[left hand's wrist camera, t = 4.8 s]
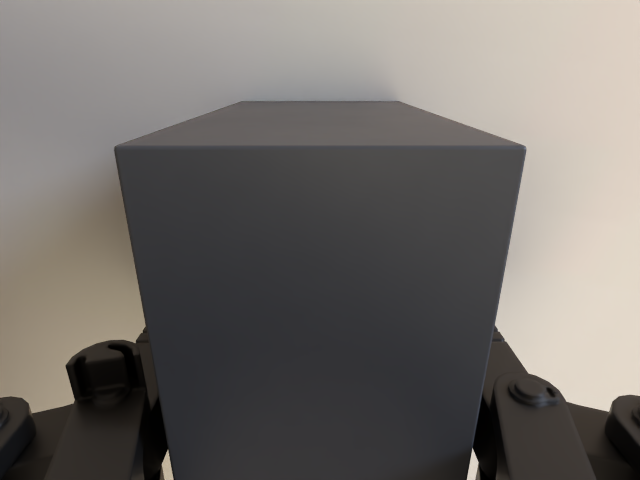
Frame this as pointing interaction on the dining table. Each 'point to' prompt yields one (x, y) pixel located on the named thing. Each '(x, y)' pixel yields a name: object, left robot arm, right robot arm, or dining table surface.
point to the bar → (320, 286)
